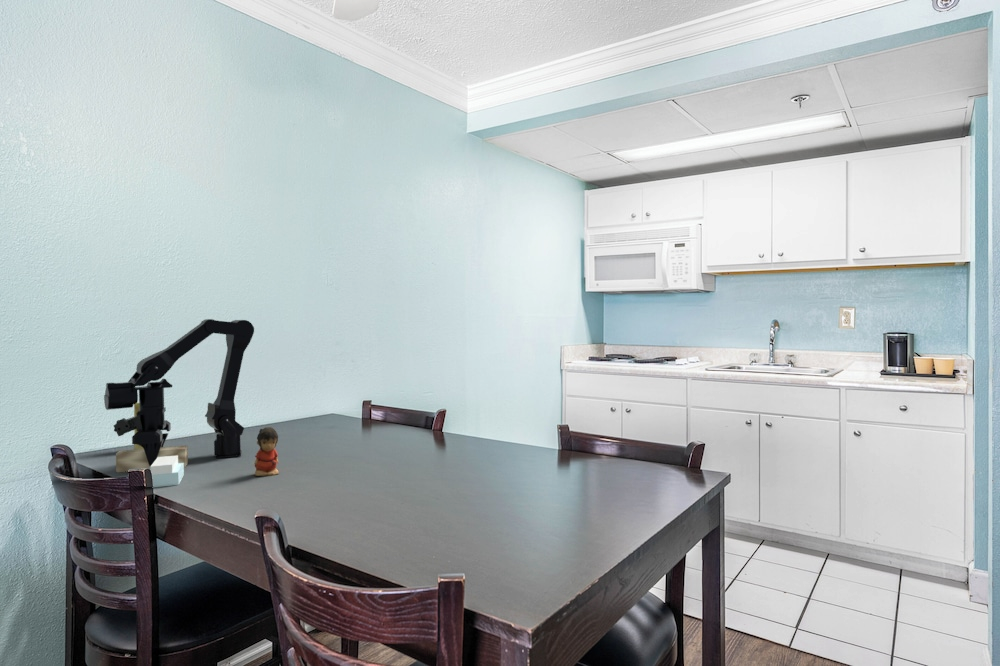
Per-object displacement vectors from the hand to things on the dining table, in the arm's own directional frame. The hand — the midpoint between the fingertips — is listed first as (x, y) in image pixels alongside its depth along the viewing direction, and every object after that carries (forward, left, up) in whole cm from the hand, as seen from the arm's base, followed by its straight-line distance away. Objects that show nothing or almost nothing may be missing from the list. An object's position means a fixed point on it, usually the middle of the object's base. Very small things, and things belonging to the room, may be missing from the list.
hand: (153, 463), depth 157 cm
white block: (-5, +16, -1) cm, 17 cm away
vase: (+6, -25, -1) cm, 26 cm away
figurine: (-28, +19, -1) cm, 34 cm away
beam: (0, 0, -1) cm, 1 cm away
